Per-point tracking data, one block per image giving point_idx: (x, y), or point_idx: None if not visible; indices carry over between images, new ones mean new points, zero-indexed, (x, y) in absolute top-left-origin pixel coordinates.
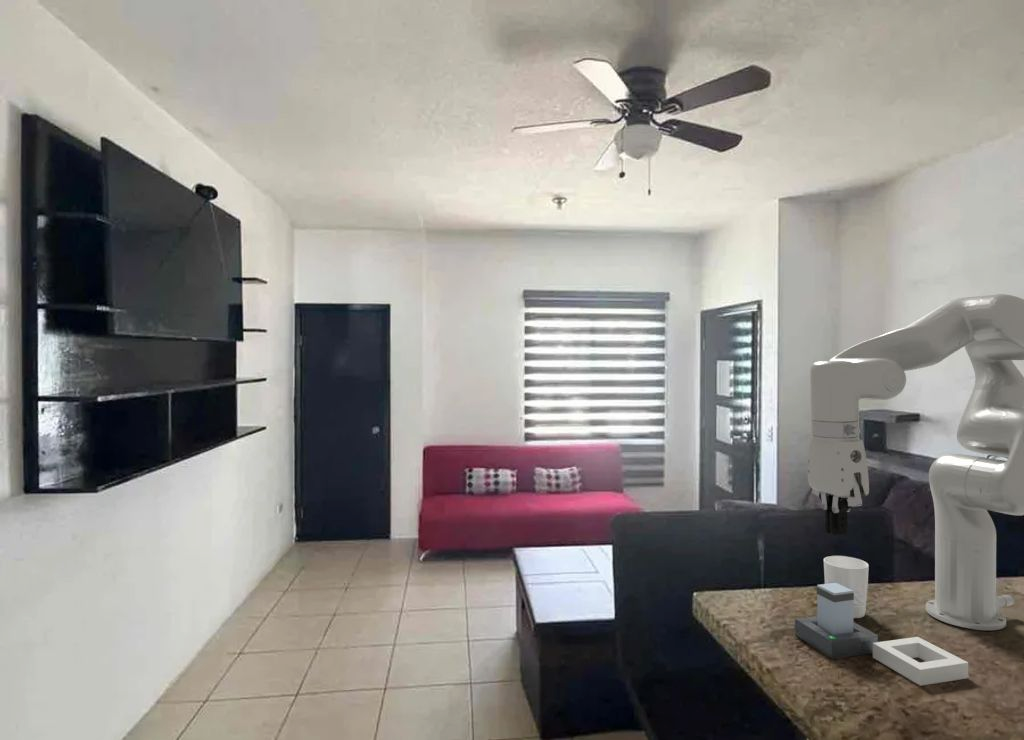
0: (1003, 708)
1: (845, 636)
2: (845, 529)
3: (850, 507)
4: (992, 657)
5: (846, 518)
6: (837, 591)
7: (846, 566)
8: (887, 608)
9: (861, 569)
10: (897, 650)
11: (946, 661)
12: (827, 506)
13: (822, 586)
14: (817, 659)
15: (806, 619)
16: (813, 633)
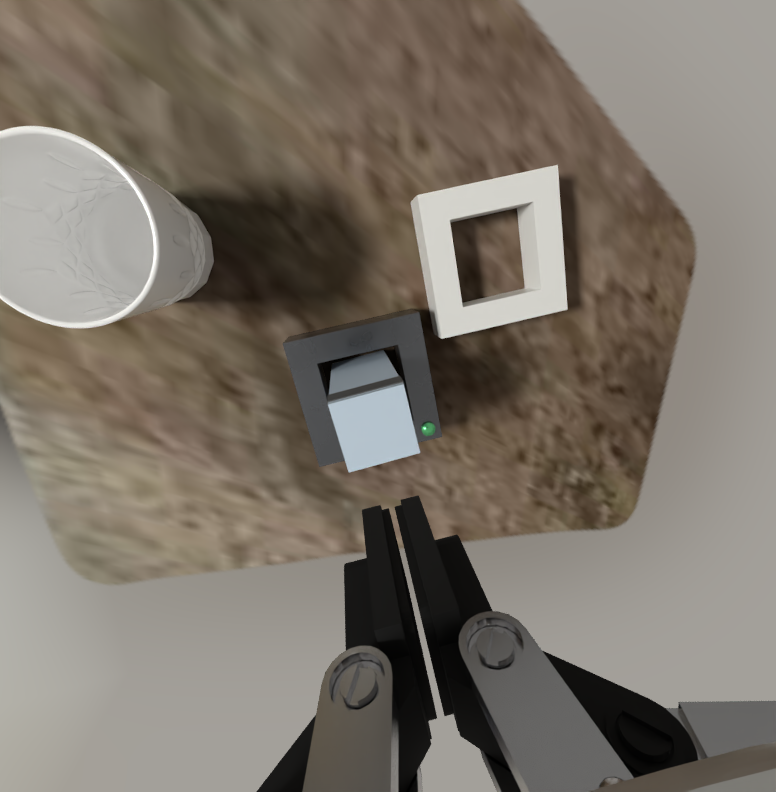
0: (644, 196)
1: (421, 394)
2: (455, 536)
3: (595, 678)
4: (455, 5)
5: (441, 563)
6: (407, 436)
7: (5, 193)
8: (114, 84)
9: (154, 213)
10: (483, 303)
11: (544, 218)
12: (420, 776)
13: (362, 462)
14: (432, 449)
15: (323, 442)
16: None
